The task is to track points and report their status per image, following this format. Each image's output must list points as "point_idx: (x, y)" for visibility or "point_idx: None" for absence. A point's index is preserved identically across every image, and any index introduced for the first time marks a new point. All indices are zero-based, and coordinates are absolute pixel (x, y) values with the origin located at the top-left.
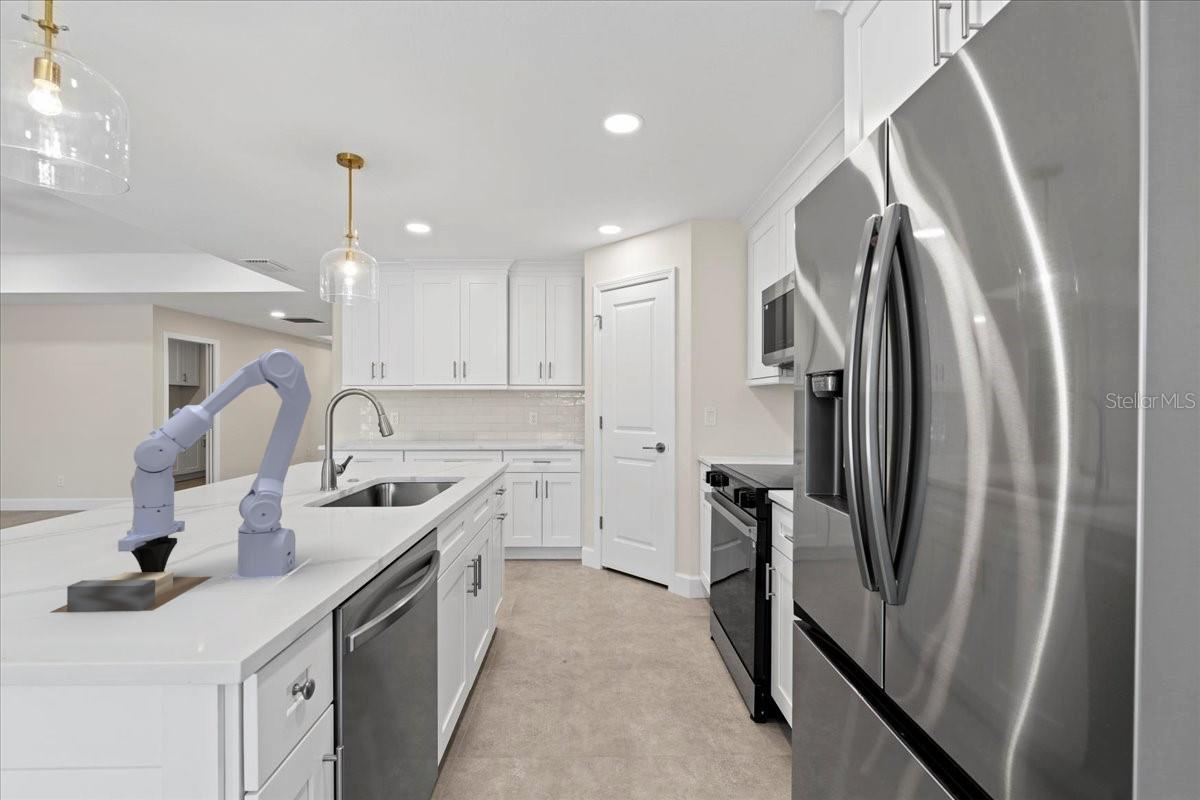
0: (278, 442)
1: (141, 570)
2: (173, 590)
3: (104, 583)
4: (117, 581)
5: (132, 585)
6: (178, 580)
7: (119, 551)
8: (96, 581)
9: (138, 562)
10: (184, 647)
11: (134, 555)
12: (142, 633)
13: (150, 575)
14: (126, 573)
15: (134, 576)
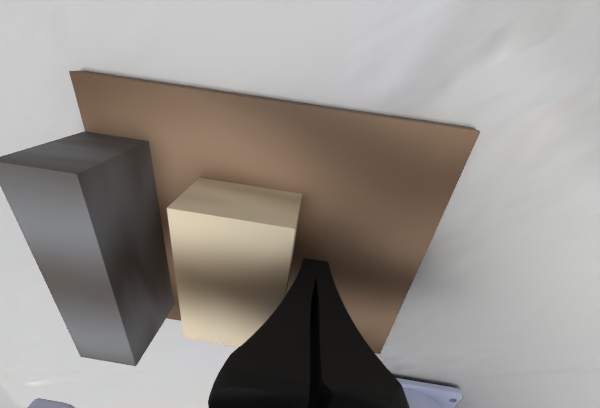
0: None
1: (293, 284)
2: None
3: (66, 268)
4: (97, 294)
5: (74, 338)
6: (365, 299)
7: (40, 400)
8: (80, 233)
9: (276, 309)
10: (29, 370)
11: (252, 336)
12: (52, 318)
13: (241, 316)
14: (276, 242)
15: (232, 280)
